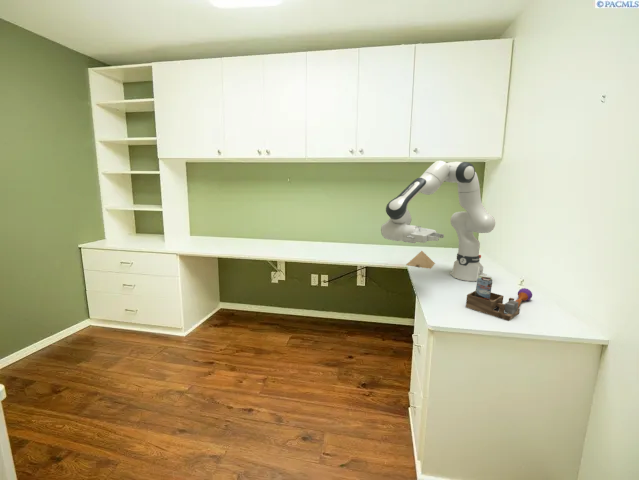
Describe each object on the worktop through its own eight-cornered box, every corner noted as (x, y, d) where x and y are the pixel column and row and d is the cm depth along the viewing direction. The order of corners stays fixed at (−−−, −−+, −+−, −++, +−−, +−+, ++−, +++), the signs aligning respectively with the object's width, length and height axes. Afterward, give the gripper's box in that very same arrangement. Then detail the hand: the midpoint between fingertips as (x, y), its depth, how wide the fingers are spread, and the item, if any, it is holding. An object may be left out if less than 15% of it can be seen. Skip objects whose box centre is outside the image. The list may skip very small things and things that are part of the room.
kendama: (506, 299, 145) (519, 286, 158) (507, 311, 146) (520, 297, 159) (521, 300, 141) (533, 287, 154) (522, 313, 141) (534, 298, 155)
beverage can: (474, 302, 142) (477, 277, 139) (474, 297, 148) (477, 272, 146) (490, 305, 139) (493, 279, 137) (489, 299, 146) (492, 274, 143)
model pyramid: (405, 265, 214) (406, 251, 212) (411, 260, 228) (412, 246, 226) (430, 269, 205) (431, 254, 204) (435, 263, 220) (436, 249, 218)
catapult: (477, 301, 152) (478, 289, 151) (519, 313, 138) (521, 300, 137) (465, 307, 144) (467, 294, 143) (508, 320, 131) (510, 307, 130)
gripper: (405, 230, 148) (435, 233, 141) (419, 225, 165) (446, 228, 157) (404, 243, 150) (434, 247, 142) (418, 237, 166) (445, 240, 159)
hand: (441, 237), depth 150 cm, fingers open, 8 cm apart
